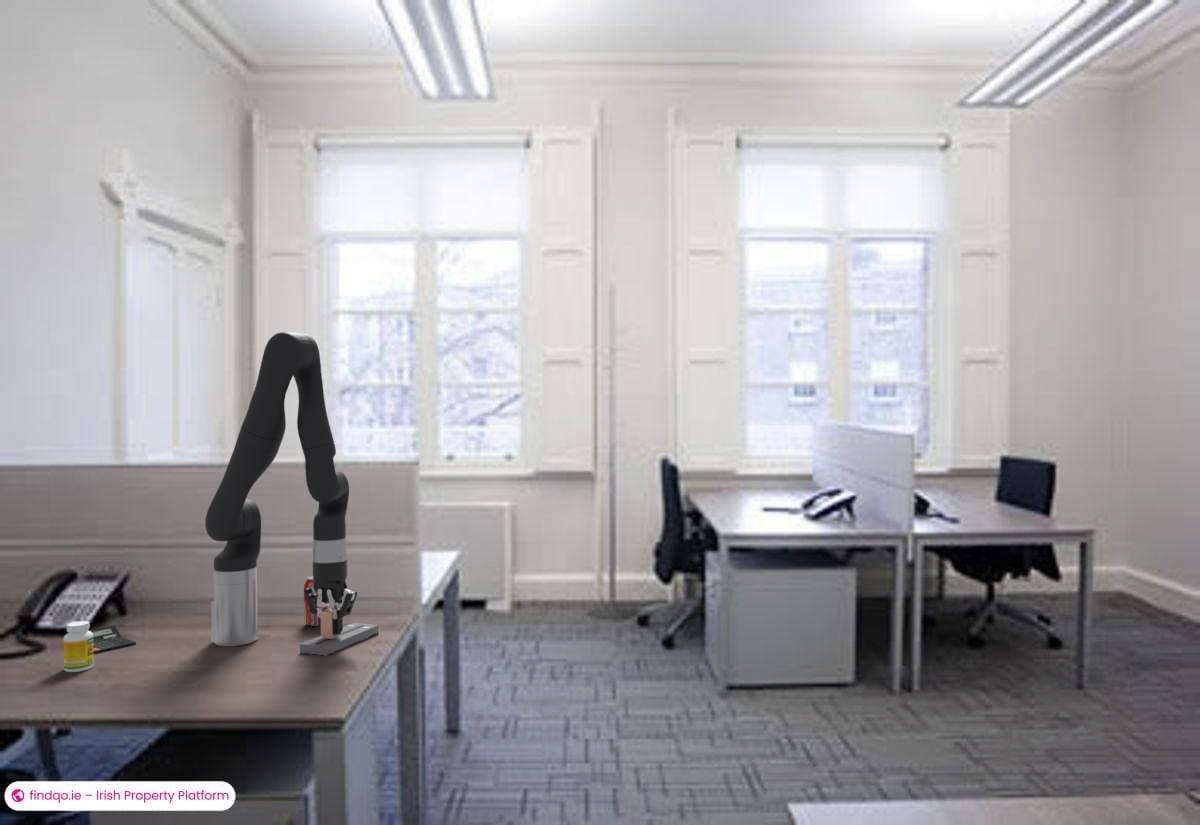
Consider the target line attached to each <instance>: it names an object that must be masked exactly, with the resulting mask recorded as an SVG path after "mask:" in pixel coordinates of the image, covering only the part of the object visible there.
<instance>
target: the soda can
mask: <svg viewBox="0 0 1200 825" xmlns="http://www.w3.org/2000/svg"><path fill="white" fill-rule="evenodd" d="M314 582H315V580H313V574H312V575H308V576H306V580H305V582H304V584H303V591H304V590H305V589H307V588H311V587H313V585H314ZM314 606H315V604H314ZM315 608H316V607H315ZM329 608H330V606H329ZM303 616H304V622H305V624H306V625H308V626H309V625H311V626H310V627H312V626H318V617H317V615H316V614H312V613H311V612H310V609H309V606H308V603H307V600H306V597H305V595H304V594H303Z"/></svg>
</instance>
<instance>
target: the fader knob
mask: <svg viewBox="0 0 1200 825" xmlns="http://www.w3.org/2000/svg"><path fill="white" fill-rule="evenodd" d="M333 619H334V618H333V614H332V609H330V608H329V609H324V610H323V611H321V633H320V636H321V638H328V639H333V638H335V637H338V636H340V634H339V635H333Z"/></svg>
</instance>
